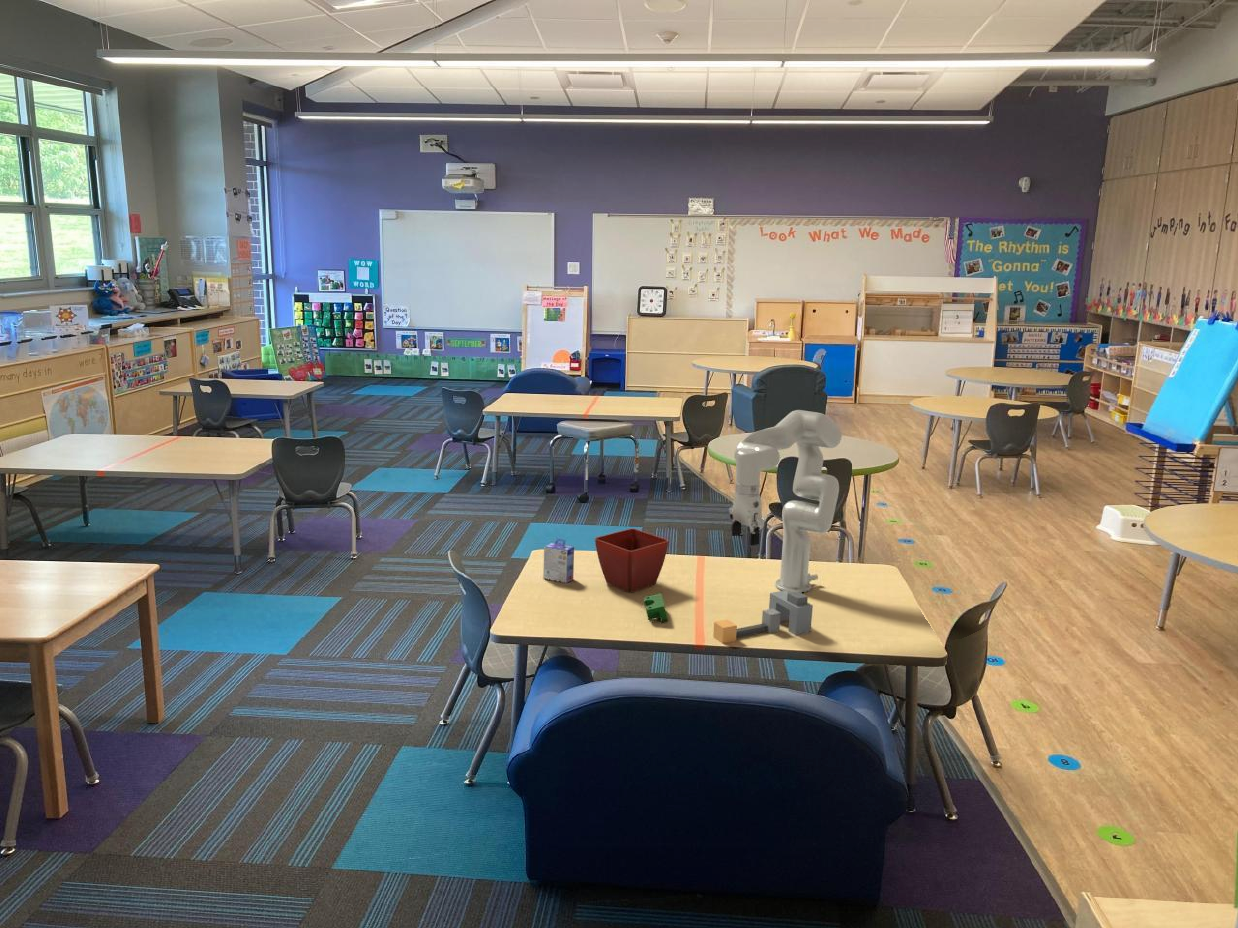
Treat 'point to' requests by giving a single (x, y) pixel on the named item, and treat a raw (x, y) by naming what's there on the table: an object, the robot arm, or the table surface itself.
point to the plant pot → (631, 558)
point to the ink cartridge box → (558, 562)
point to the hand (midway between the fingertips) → (745, 539)
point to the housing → (793, 610)
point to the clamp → (655, 607)
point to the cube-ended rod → (729, 631)
